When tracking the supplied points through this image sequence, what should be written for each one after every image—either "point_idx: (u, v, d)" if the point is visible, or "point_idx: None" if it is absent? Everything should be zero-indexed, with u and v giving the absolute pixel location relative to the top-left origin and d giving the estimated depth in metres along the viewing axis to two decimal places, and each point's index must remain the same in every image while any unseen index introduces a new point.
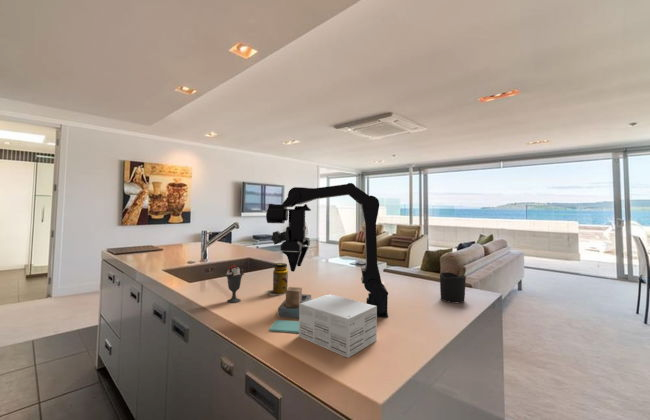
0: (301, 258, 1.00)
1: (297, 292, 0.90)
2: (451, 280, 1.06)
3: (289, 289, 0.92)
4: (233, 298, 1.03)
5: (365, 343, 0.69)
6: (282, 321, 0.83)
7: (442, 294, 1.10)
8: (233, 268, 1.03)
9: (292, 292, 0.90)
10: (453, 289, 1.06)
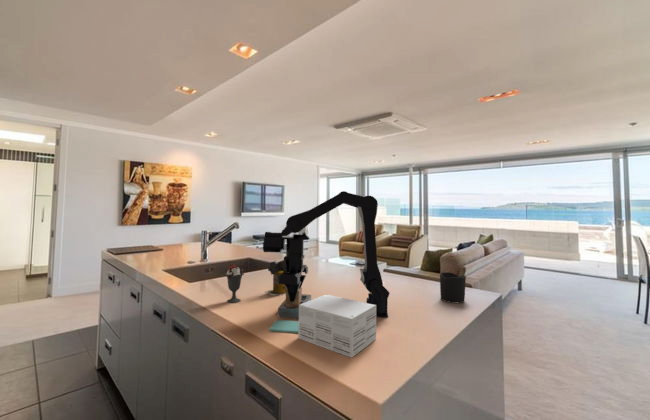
0: None
1: (297, 292, 0.90)
2: (451, 280, 1.06)
3: None
4: (233, 298, 1.03)
5: (366, 342, 0.70)
6: (282, 321, 0.83)
7: (442, 294, 1.10)
8: (233, 268, 1.03)
9: None
10: (453, 289, 1.06)
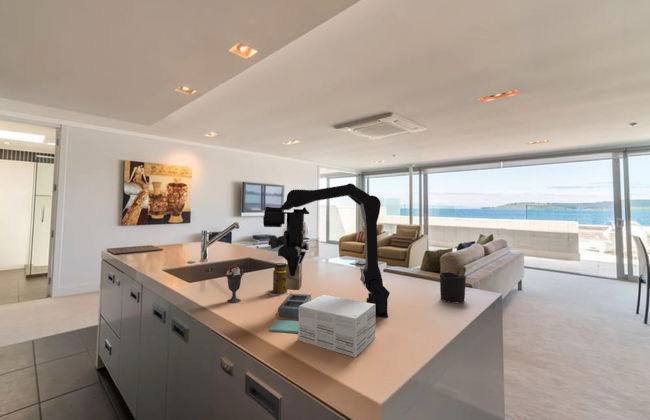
0: None
1: None
2: (451, 280, 1.06)
3: None
4: (233, 298, 1.03)
5: (367, 341, 0.70)
6: (282, 321, 0.83)
7: (442, 294, 1.10)
8: (233, 268, 1.03)
9: None
10: (453, 289, 1.06)
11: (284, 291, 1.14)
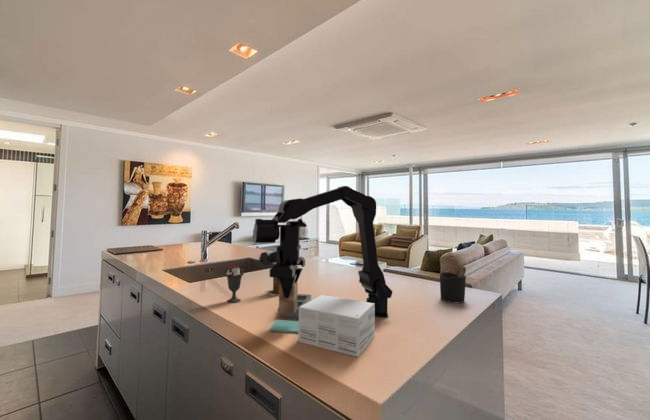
0: None
1: (292, 287, 0.78)
2: (451, 280, 1.06)
3: None
4: (233, 298, 1.03)
5: (368, 340, 0.71)
6: (282, 321, 0.83)
7: (442, 294, 1.10)
8: (233, 268, 1.03)
9: None
10: (453, 289, 1.06)
11: None
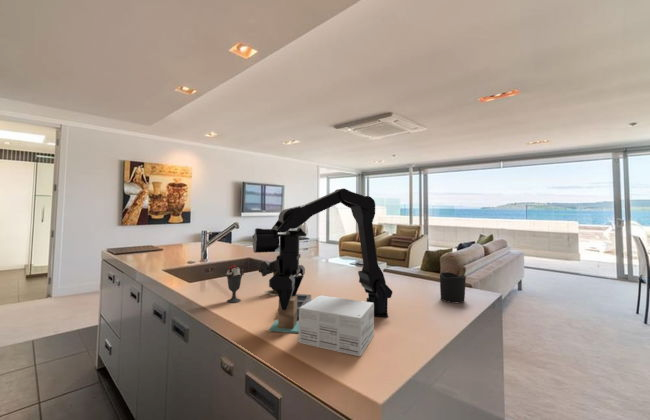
0: (294, 290, 0.85)
1: (292, 302, 0.78)
2: (451, 280, 1.06)
3: None
4: (233, 298, 1.03)
5: (368, 340, 0.71)
6: None
7: (442, 294, 1.10)
8: (233, 268, 1.03)
9: None
10: (453, 289, 1.06)
11: None
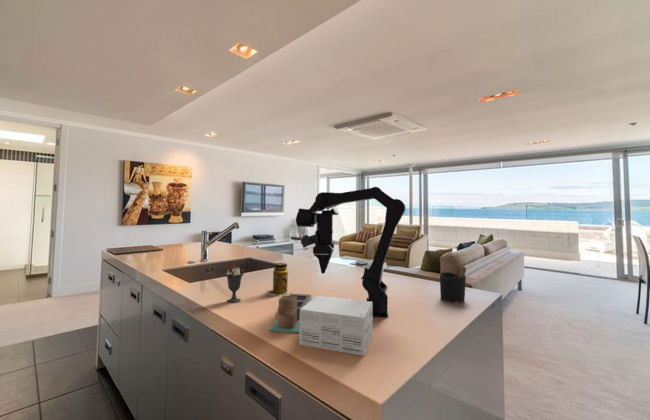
0: None
1: (292, 302, 0.78)
2: (451, 280, 1.06)
3: (283, 298, 0.80)
4: (233, 298, 1.03)
5: (369, 339, 0.72)
6: None
7: (442, 294, 1.10)
8: (233, 268, 1.03)
9: (286, 301, 0.79)
10: (453, 289, 1.06)
11: (284, 291, 1.14)
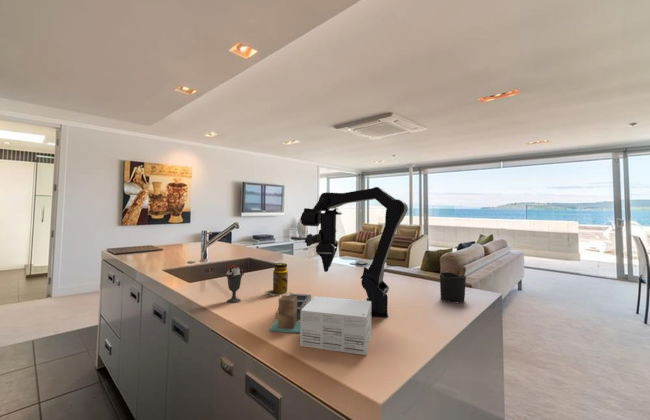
0: None
1: (292, 302, 0.78)
2: (451, 280, 1.06)
3: (283, 298, 0.80)
4: (233, 298, 1.03)
5: (369, 338, 0.72)
6: None
7: (442, 294, 1.10)
8: (233, 268, 1.03)
9: (286, 301, 0.79)
10: (453, 289, 1.06)
11: (284, 291, 1.14)
